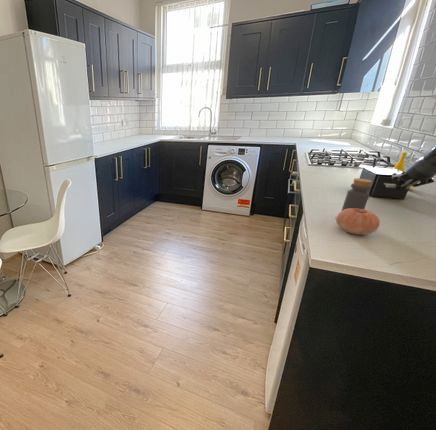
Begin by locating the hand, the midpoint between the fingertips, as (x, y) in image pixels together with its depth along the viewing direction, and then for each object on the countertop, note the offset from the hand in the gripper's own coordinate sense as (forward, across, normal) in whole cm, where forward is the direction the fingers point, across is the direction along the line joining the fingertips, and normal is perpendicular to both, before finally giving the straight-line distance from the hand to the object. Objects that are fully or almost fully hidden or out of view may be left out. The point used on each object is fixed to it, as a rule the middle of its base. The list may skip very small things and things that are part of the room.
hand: (398, 188), depth 116 cm
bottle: (-17, -24, -26) cm, 39 cm away
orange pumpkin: (-25, -26, -34) cm, 49 cm away
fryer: (+14, 0, +6) cm, 15 cm away
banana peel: (+26, +9, +17) cm, 32 cm away
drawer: (+10, 0, +3) cm, 11 cm away
